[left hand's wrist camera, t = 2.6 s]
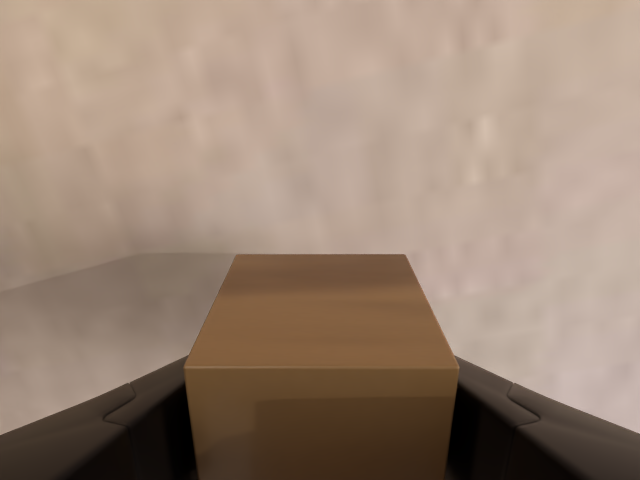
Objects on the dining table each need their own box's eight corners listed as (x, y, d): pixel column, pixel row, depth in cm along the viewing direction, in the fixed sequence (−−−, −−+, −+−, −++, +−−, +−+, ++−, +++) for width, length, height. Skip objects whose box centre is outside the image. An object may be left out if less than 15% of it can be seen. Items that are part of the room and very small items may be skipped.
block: (235, 253, 12) (181, 366, 7) (405, 253, 12) (460, 366, 7) (246, 403, 14) (208, 571, 9) (395, 403, 14) (433, 572, 9)
